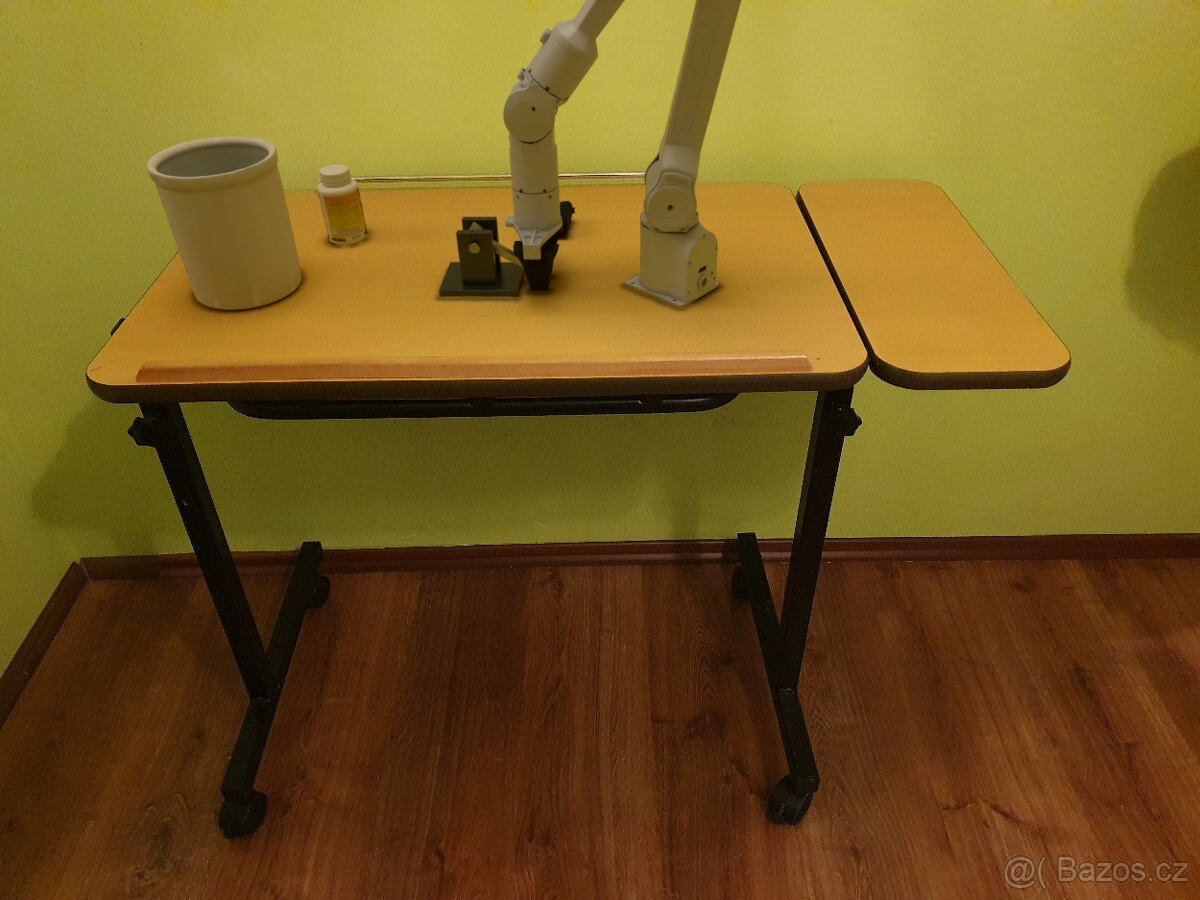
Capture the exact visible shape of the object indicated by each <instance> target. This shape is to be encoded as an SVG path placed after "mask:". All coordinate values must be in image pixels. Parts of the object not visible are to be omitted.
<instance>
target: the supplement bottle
mask: <svg viewBox="0 0 1200 900" xmlns="http://www.w3.org/2000/svg"><path fill="white" fill-rule="evenodd" d="M319 176H320V181H321V182H320V183H318V185H317V186H316V187H317V190H316V191H317V194H318V199H319V204H320V208H321V212H322V217H323V221H324V226H325V229H326V234H327V238H328V240H329V241H330V242H331V243H332V244H335V245H342V246H345V245H353V244H356V243H359V242H362V241H363V240H364V239H366V238H367V236H368V229H367V224H366V219H365V213H364V209H363V208H364V207H363V203H362V200H361V194H360V188H359V184H358V181H357V180H355V179H354V178H353V177H351V173H350V168H349V166H348V165H345V164H341V163H339V164H337V163H335V164H329V165H326V166H324V167H321V168H320V169H319Z"/></svg>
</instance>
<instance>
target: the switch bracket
mask: <svg viewBox="0 0 1200 900" xmlns="http://www.w3.org/2000/svg"><path fill="white" fill-rule="evenodd" d="M473 222H475V223H477V224H479V225H481V226H483V227H485V228H486V229H488V230H469V229H470V227H471V225H472V223H473ZM461 228H462V229H457V230H456V232H455V236H456V237H455V238H456V245H457V251H458V253H457V254H458V259H459V261H450V262H449V263H448V267H447V268H446V272H445V274H444V277H443V279H442V282H441V283H440V287H439V289H438V294H439V297H482V298H483V297H496V298H497V297H499V298H500V297H502V298H503V297H504V298H505V297H506V298H508V297H509V298H512V297H513V298H517V297H518V295H519V291H520V288H521V284H522V280H523V277H524V273H525V270H524V268H522V267H520V266H518V265H516V264H515V263H513V262H511V261H502V256H500V255H498V254H496V253H494V244H493V240H494V241H496V242H498V243H499V244H500V236H499V226H498V217H497V216H462V218H461ZM492 232H493V234H492Z"/></svg>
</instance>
